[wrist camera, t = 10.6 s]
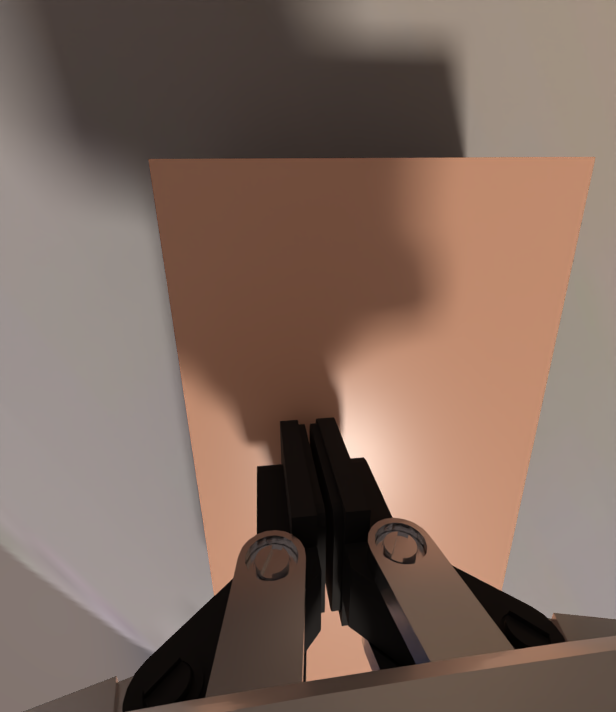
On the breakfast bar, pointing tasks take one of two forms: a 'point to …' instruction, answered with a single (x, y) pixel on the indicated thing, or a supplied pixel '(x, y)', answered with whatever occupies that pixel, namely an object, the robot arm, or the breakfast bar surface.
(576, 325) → the breakfast bar surface
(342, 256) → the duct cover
